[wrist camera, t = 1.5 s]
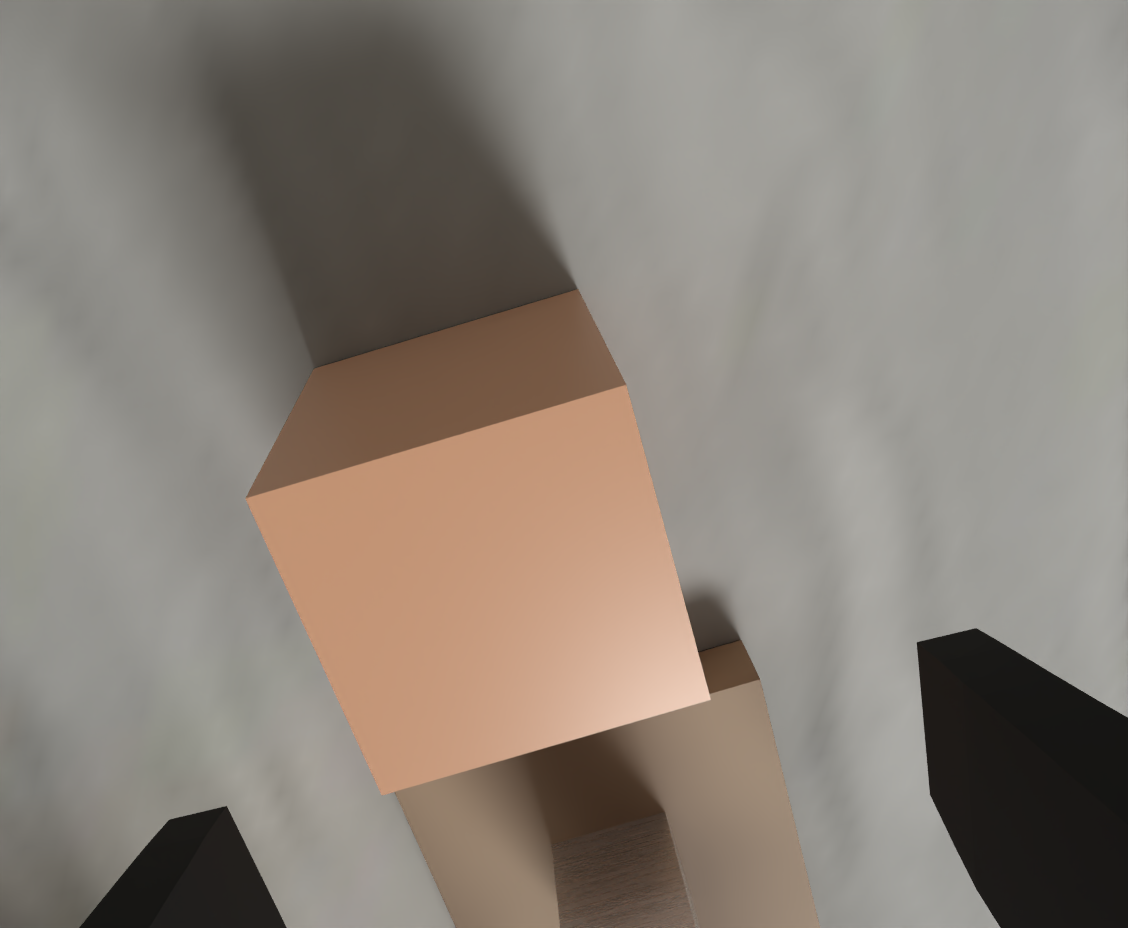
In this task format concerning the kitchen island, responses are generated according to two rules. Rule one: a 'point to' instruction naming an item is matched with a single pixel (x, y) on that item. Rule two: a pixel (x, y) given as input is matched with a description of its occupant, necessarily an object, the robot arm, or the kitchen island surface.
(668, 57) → the kitchen island surface
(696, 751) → the stand
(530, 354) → the peach cube
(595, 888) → the steel post
